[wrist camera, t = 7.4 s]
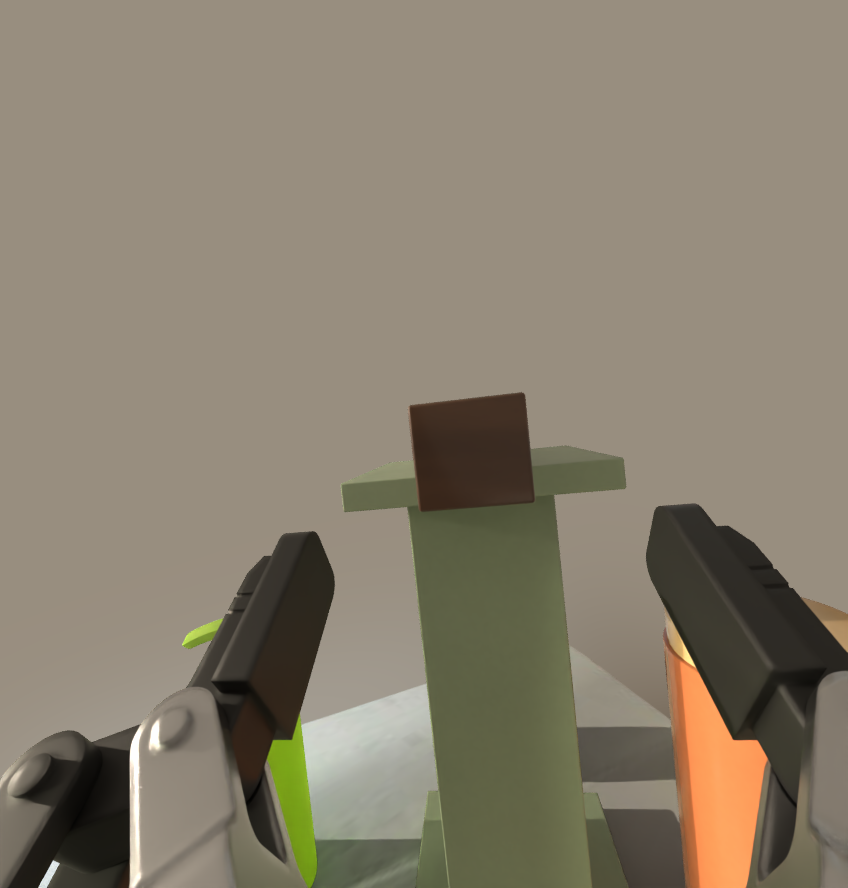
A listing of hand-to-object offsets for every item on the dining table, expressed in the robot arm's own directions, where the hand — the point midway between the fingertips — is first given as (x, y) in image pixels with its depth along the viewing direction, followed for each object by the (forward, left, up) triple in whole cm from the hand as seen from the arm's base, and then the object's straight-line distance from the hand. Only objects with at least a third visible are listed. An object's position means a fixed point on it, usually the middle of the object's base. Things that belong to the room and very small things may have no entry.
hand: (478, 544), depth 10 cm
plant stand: (-7, +15, -29) cm, 34 cm away
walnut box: (-6, +12, +1) cm, 13 cm away
